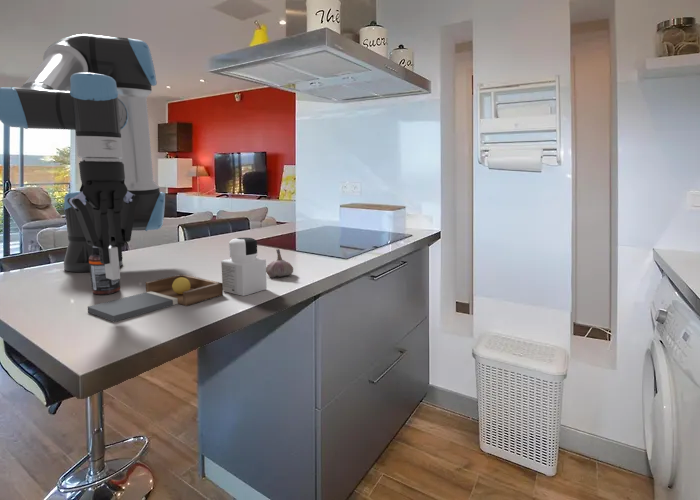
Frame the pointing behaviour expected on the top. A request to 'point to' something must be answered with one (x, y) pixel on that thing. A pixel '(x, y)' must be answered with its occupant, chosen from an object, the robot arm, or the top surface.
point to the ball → (181, 285)
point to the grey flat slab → (132, 306)
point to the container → (243, 268)
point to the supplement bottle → (101, 276)
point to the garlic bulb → (279, 267)
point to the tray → (196, 293)
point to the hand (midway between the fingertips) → (113, 278)
